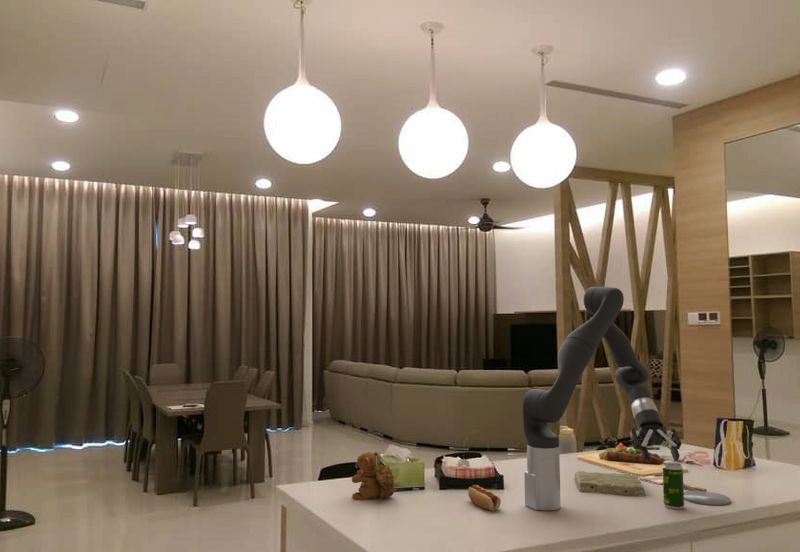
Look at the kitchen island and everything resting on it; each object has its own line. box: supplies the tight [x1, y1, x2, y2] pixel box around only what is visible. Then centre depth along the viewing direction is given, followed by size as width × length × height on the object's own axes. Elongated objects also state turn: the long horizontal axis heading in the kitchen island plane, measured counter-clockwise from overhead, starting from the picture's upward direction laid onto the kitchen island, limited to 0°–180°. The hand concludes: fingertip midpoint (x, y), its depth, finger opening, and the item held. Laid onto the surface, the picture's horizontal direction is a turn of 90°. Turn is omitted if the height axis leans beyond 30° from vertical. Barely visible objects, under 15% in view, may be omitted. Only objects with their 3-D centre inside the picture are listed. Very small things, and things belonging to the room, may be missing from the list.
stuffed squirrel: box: [351, 451, 396, 501], centre depth 192 cm, size 10×14×13 cm
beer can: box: [662, 462, 685, 510], centre depth 182 cm, size 5×5×12 cm
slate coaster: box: [684, 490, 731, 506], centre depth 190 cm, size 13×13×1 cm
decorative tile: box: [574, 470, 646, 496], centre depth 204 cm, size 19×20×4 cm
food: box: [467, 484, 502, 512], centre depth 183 cm, size 14×6×5 cm, turn 21°
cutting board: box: [576, 442, 689, 478], centre depth 237 cm, size 35×23×8 cm
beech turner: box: [639, 476, 708, 492], centre depth 206 cm, size 22×6×1 cm, turn 30°
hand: (662, 459), depth 189 cm, fingers open, 8 cm apart
